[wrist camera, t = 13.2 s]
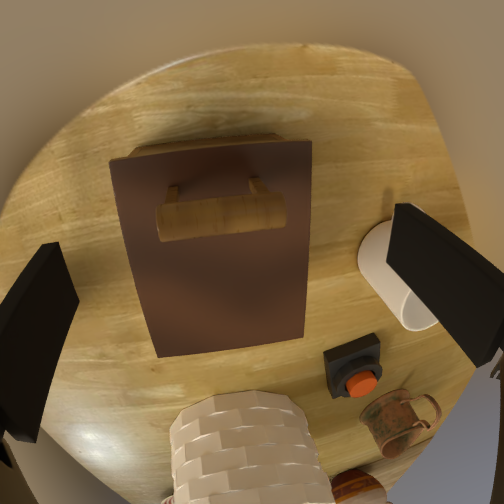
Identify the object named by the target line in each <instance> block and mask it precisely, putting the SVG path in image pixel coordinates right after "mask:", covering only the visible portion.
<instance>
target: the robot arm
mask: <svg viewBox="0 0 504 504" xmlns="http://www.w3.org/2000/svg"><path fill="white" fill-rule="evenodd" d="M386 263H387V264H388V265H389V266H390V267H391V268H392V269H393V270H394V271H395V273H396V274H397V275H398V276H399V277H400V278H401V279H402V280H403V281H404V282H405V283H406V284H407V286H408V287H409V288H410V289H411V290H412V291H413V292H414V293H415V294H416V296H417V297H418V298H419V299H420V300H421V301H422V302H423V303H424V305H425V306H426V307H427V308H428V309H429V310H430V311H431V313H432V314H433V315H434V316H435V317H436V318H437V320H438V321H439V322H440V323H441V324H442V325H443V327H444V328H445V329H446V330H447V331H448V333H449V334H450V335H451V336H452V337H453V339H454V340H455V341H456V342H457V344H458V345H459V346H460V347H461V349H462V350H463V351H464V352H465V354H466V355H467V356H468V357H469V359H470V360H471V361H472V362H473V364H474V365H475V366H476V368H478V367H480V366H482V365H484V364H486V363H488V362H490V361H491V360H492V359H493V357H494V355H495V353H496V351H497V350H498V348H499V347H500V348H501V349H502V351H503V354H502V356H501V357H500V359H499V361H498V362H497V364H496V366H495V367H494V369H493V371H492V372H491V375H490V378H493V377H494V375H495V374H496V372H497V371H498V370H500V373H499V374H498V376H497V378H496V379H500V383H501V384H500V388H501V399H500V401H501V406H500V431H499V444H498V455H497V463H496V471H495V477H494V484H493V490H492V496H491V501H490V504H504V273H502V272H501V271H500V270H499V269H497V268H496V267H495V266H494V265H493V264H492V263H491V262H489V261H488V260H487V259H486V258H484V257H483V256H482V255H481V254H479V253H478V252H477V251H476V250H474V249H473V248H472V247H470V246H469V245H468V244H467V243H465V242H464V241H463V240H461V239H460V238H459V237H457V236H456V235H455V234H453V233H452V232H451V231H449V230H448V229H447V228H445V227H444V226H442V225H441V224H440V223H438V222H437V221H435V220H434V219H433V218H431V217H430V216H428V215H427V214H425V213H424V212H423V211H421V210H420V209H418V208H417V207H415V206H414V205H412V204H411V203H398V204H395V209H394V216H393V223H392V229H391V235H390V241H389V247H388V252H387V258H386ZM79 302H80V301H79V298H78V296H77V293H76V291H75V288H74V285H73V283H72V280H71V277H70V274H69V272H68V269H67V266H66V263H65V260H64V257H63V254H62V251H61V248H60V245H59V242H53V243H47V244H42V245H41V247H40V248H39V249H38V251H37V252H36V253H35V255H34V256H33V257H32V259H31V260H30V261H29V263H28V264H27V266H26V267H25V268H24V270H23V271H22V273H21V274H20V276H19V277H18V278H17V280H16V281H15V283H14V284H13V286H12V287H11V289H10V290H9V292H8V293H7V295H6V297H5V298H4V300H3V301H2V303H1V304H0V504H38V502H37V500H36V499H35V497H34V495H33V493H32V491H31V490H30V488H29V486H28V484H27V482H26V480H25V478H24V476H23V474H22V472H21V470H20V468H19V466H18V464H17V462H16V460H15V458H14V455H13V453H12V451H11V449H10V446H9V444H8V443H7V442H6V440H5V439H4V438H3V435H4V432H5V430H7V432H8V433H9V434H10V435H11V436H12V437H13V438H14V439H15V440H17V441H23V442H30V443H36V441H37V436H38V432H39V428H40V423H41V419H42V415H43V411H44V407H45V404H46V400H47V396H48V393H49V389H50V386H51V382H52V379H53V376H54V372H55V369H56V366H57V363H58V360H59V357H60V354H61V351H62V348H63V345H64V342H65V339H66V336H67V334H68V331H69V328H70V325H71V323H72V320H73V317H74V315H75V312H76V309H77V307H78V304H79Z"/></svg>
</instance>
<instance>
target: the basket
mask: <svg viewBox="0 0 504 504" xmlns="http://www.w3.org/2000/svg"><path fill="white" fill-rule="evenodd" d="M170 444H171V446H172V450H171V452H172V459H171V473H172V477H173V478H174V483H173V484H174V493H173V495H174V504H335V500H334V497H333V494H332V491H331V489H332V487H331V484H330V481H329V478H328V476H327V473H326V472H323V470H322V467H321V464H320V462H318V460H317V457H318V455H319V454H318V451H317V448H316V445H315V443H314V440H313V439H312V438H311V436H310V433H309V431H308V422H307V420H306V417H305V414H304V411H303V410H302V409H301V408H299V407H298V406H297V405H296V404H295V403H294V402H292V401H291V400H290V399H289V398H288V395H281V394H275V393H269V392H262V391H257V390H251V391H245V392H238V393H230V394H222V395H214V396H211V397H209V398H207V399H205V400H203V401H201V402H198V403H196V404H194V405H192V406H190V407H187V408H185V409H183V410H181V412H180V413H179V415H178V416H177V418H176V419H175V421H174V422H173V424H172V425H171V427H170Z"/></svg>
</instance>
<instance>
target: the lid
mask: <svg viewBox="0 0 504 504" xmlns="http://www.w3.org/2000/svg"><path fill="white" fill-rule="evenodd" d="M109 168H110V174H111V179H112V185H113V190H114V196H115V201H116V206H117V211H118V216H119V220H120V225H121V230H122V234H123V238H124V243H125V247H126V251H127V255H128V259H129V263H130V267H131V271H132V275H133V278H134V282H135V286H136V289H137V293H138V296H139V300H140V303H141V307H142V310H143V314H144V317H145V320H146V323H147V327H148V330H149V333H150V336H151V339H152V342H153V345H154V348H155V351H156V354H157V357H158V358H163V357H173V356H182V355H191V354H200V353H208V352H216V351H223V350H231V349H238V348H244V347H251V346H257V345H264V344H270V343H275V342H281V341H287V340H292V339H298V338H303V336H304V323H305V310H306V296H307V280H308V262H309V241H310V215H311V175H312V141H311V140H308V139H294V140H272V141H255V142H241V143H229V144H218V145H208V146H198V147H190V148H181V149H174V150H166V151H159V152H152V153H145V154H139V155H133V156H127V157H121V158H115V159H111V160H110V161H109Z"/></svg>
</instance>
